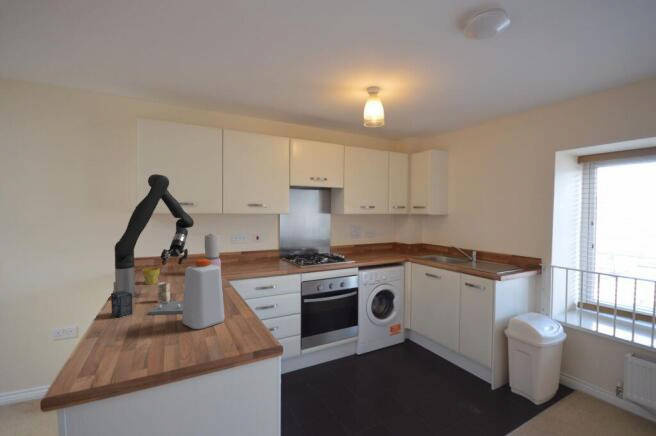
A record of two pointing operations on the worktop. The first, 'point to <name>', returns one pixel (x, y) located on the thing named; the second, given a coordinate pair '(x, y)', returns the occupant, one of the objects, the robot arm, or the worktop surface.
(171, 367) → the worktop surface
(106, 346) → the worktop surface
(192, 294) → the plastic bottle
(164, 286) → the birch block
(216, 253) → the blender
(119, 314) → the box
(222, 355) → the worktop surface
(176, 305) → the locating plate
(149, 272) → the plant pot
